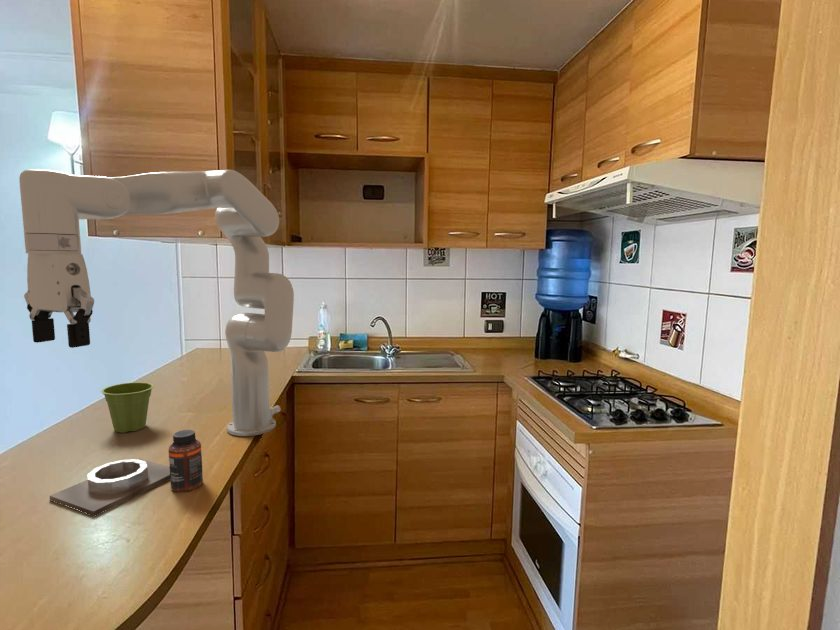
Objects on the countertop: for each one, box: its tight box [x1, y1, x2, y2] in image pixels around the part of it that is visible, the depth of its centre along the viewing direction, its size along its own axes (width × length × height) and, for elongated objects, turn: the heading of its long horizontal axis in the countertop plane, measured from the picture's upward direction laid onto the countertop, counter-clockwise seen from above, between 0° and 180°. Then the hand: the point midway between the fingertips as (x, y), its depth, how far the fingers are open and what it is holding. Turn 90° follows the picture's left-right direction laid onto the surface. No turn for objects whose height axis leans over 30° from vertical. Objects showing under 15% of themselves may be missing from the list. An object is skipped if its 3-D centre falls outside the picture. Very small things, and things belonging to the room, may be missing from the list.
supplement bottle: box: [168, 429, 204, 493], centre depth 94 cm, size 6×6×11 cm
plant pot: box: [100, 381, 155, 434], centre depth 124 cm, size 12×12×11 cm
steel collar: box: [86, 458, 148, 495], centre depth 94 cm, size 10×10×2 cm
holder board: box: [49, 458, 170, 517], centre depth 94 cm, size 18×13×1 cm
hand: (61, 343), depth 81 cm, fingers open, 9 cm apart
